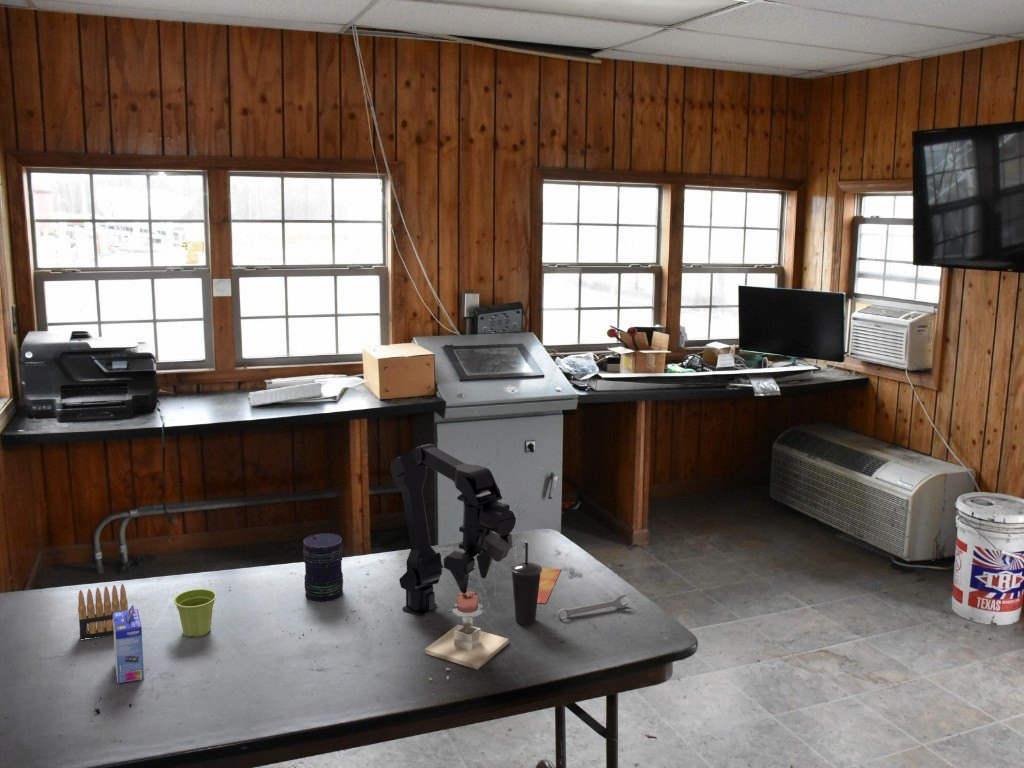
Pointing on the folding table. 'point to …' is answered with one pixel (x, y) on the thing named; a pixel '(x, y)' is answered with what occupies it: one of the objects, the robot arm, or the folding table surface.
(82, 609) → the ammunition clip
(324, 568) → the storage jar
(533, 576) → the drinking cup
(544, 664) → the folding table surface
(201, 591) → the plant pot
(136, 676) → the ink cartridge box
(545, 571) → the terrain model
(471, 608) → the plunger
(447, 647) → the stand
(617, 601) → the combination wrench
